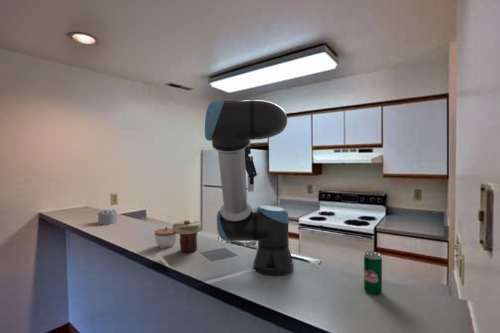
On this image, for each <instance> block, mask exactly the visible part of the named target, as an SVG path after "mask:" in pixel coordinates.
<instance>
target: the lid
mask: <svg viewBox="0 0 500 333" xmlns="http://www.w3.org/2000/svg"><path fill="white" fill-rule="evenodd" d="M201 225H202V223H201V221H196V220H184V221H182V220H181V221H177V222H175V223H173V224H172V228H173V232H174V233H176V234H178V235H180V234H192V233H197V232H198V233H199V232H201V231H202V226H201ZM198 233H197V234H198Z"/></svg>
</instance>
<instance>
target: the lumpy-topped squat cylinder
mask: <svg viewBox="0 0 500 333" xmlns="http://www.w3.org/2000/svg"><path fill="white" fill-rule="evenodd" d="M97 216H98V218H97V220H98V221H97V223H99V225H100V224H103V225H102V226H110V225H109V224H113V225H115V223H116V224H117V223H118V217H117V216H118V212H117V211H116V209H103V210H100V211H99V212H98V213H97Z"/></svg>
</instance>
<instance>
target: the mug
mask: <svg viewBox="0 0 500 333" xmlns="http://www.w3.org/2000/svg"><path fill="white" fill-rule="evenodd" d="M198 233H199V232H197V233H192V234H179V246H180V248H179V249H180V252H182V253H183V254H188V253H189V254H190V253H194V252H197V250H198Z"/></svg>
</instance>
